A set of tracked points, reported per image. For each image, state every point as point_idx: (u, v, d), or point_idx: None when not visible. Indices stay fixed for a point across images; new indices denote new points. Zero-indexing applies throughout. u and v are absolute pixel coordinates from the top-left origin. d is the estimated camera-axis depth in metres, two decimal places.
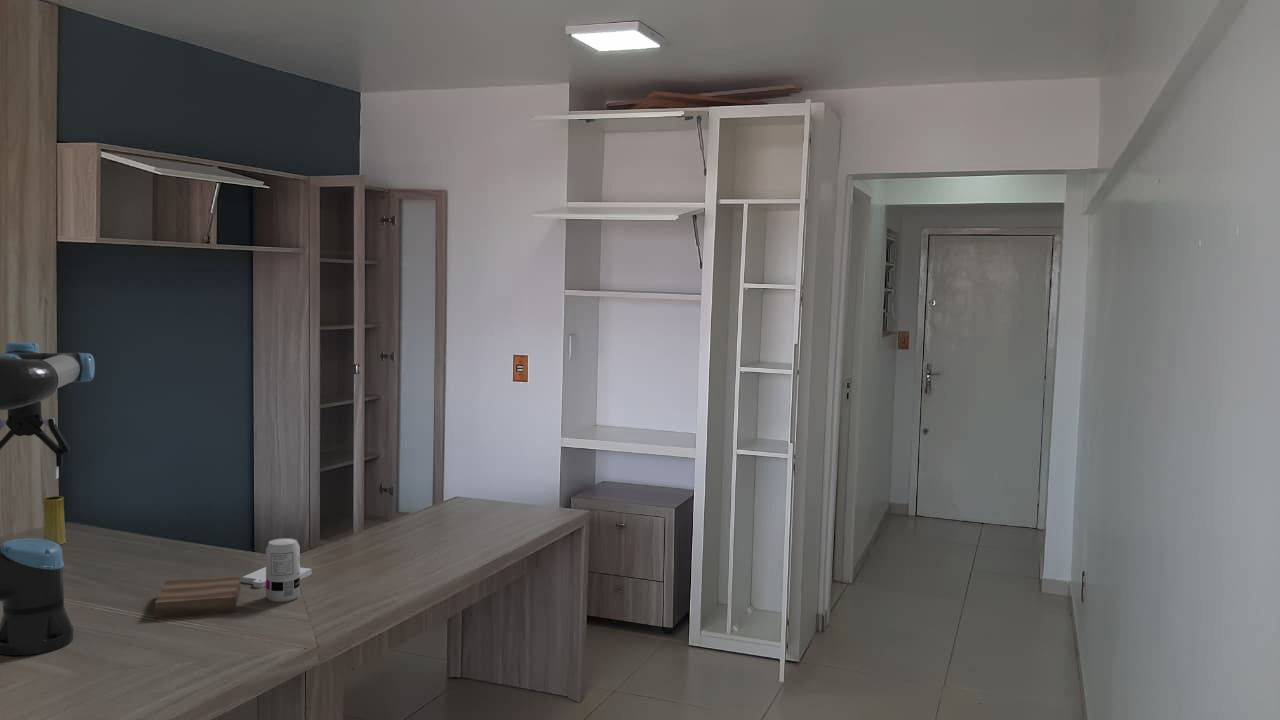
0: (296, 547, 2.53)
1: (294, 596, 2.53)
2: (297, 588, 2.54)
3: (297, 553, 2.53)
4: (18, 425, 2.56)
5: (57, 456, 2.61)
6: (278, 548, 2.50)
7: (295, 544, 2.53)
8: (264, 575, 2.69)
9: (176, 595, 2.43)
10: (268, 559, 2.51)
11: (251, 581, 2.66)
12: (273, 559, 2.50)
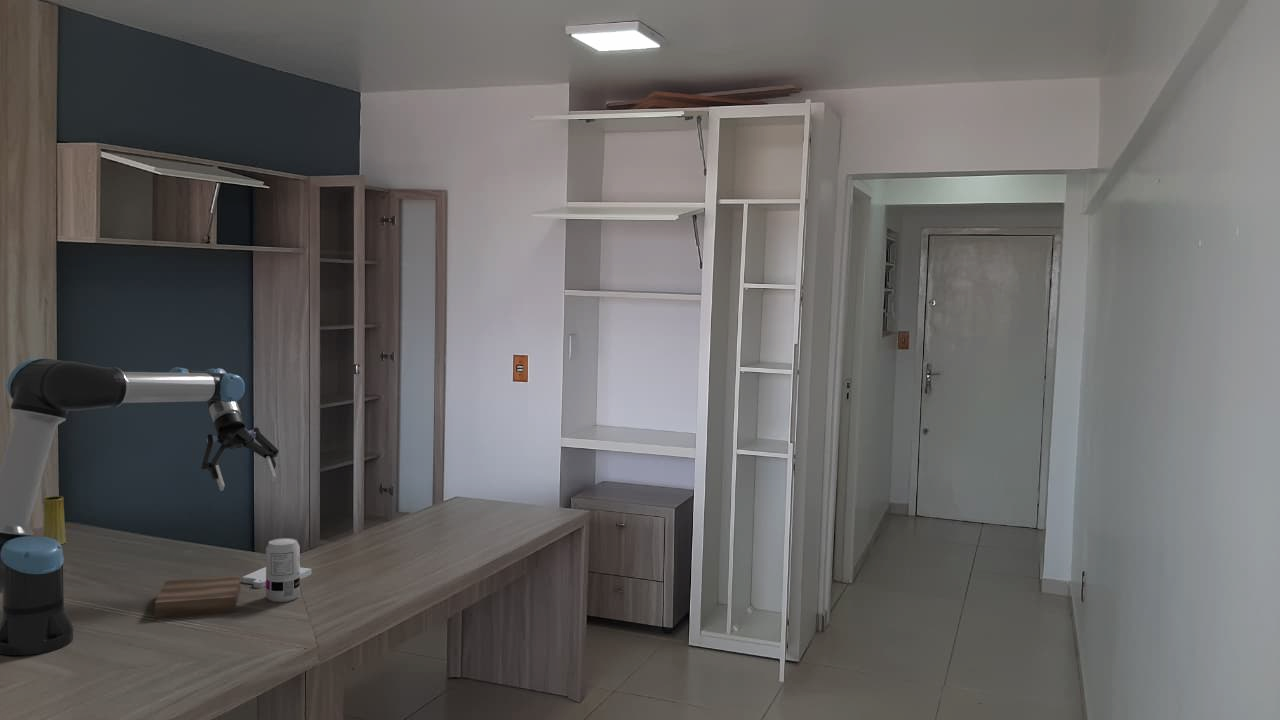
0: (296, 547, 2.53)
1: (294, 596, 2.53)
2: (297, 588, 2.54)
3: (297, 553, 2.53)
4: (230, 434, 2.68)
5: (270, 458, 2.71)
6: (278, 548, 2.50)
7: (295, 544, 2.53)
8: (264, 575, 2.68)
9: (176, 595, 2.43)
10: (268, 559, 2.51)
11: (251, 581, 2.66)
12: (273, 559, 2.50)
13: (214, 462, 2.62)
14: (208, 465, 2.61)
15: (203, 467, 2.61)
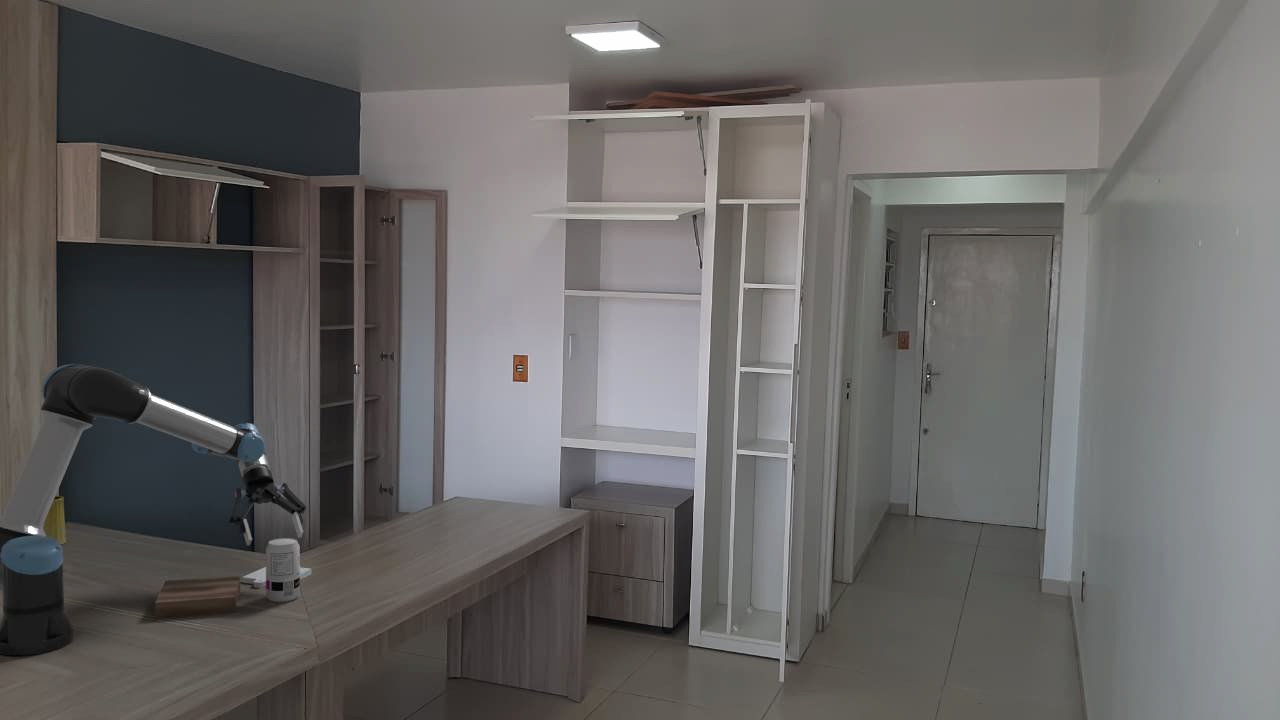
0: (296, 547, 2.53)
1: (294, 596, 2.53)
2: (297, 588, 2.54)
3: (297, 553, 2.53)
4: (259, 488, 2.65)
5: (297, 514, 2.67)
6: (278, 548, 2.50)
7: (295, 544, 2.53)
8: (264, 575, 2.68)
9: (176, 595, 2.43)
10: (268, 559, 2.51)
11: (251, 581, 2.66)
12: (273, 559, 2.50)
13: (242, 516, 2.58)
14: (236, 519, 2.58)
15: (231, 521, 2.58)
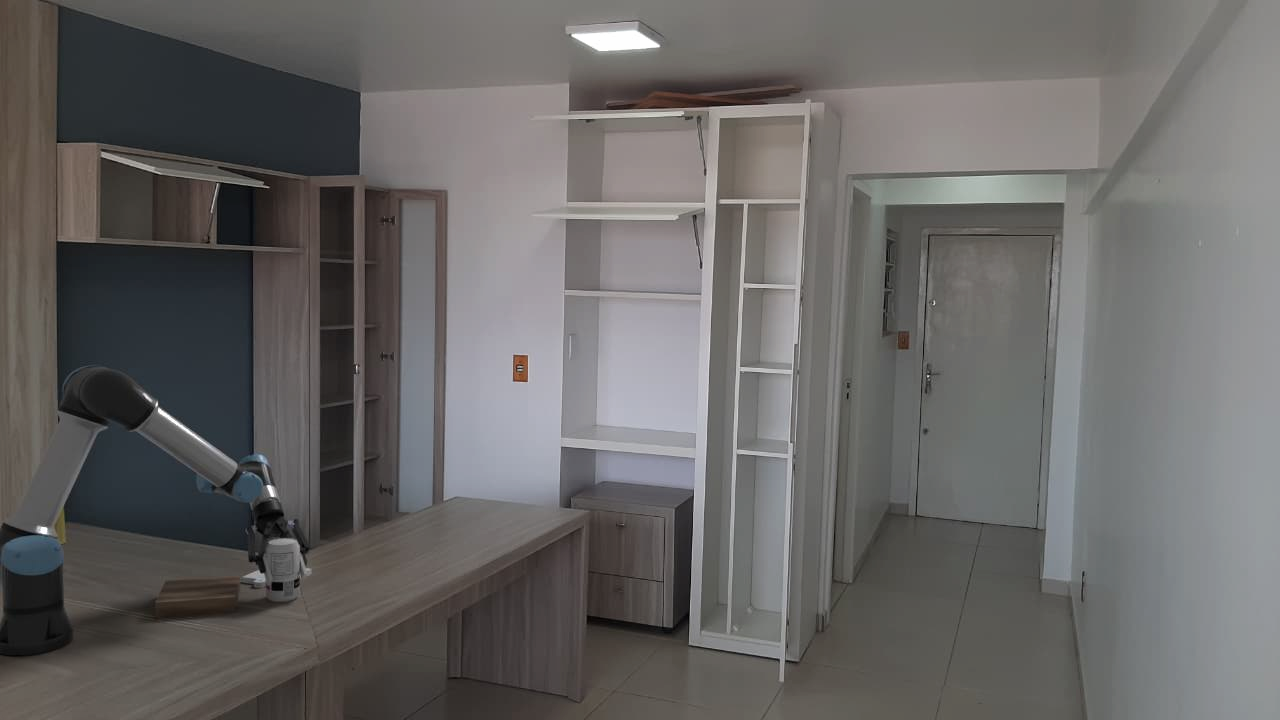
0: (296, 547, 2.53)
1: (294, 596, 2.53)
2: (297, 588, 2.54)
3: (297, 553, 2.53)
4: (269, 522, 2.58)
5: (301, 555, 2.58)
6: (278, 548, 2.50)
7: (295, 544, 2.53)
8: (264, 575, 2.68)
9: (176, 595, 2.43)
10: (268, 559, 2.51)
11: (251, 581, 2.66)
12: (273, 559, 2.50)
13: (262, 554, 2.52)
14: (256, 559, 2.51)
15: (251, 560, 2.51)
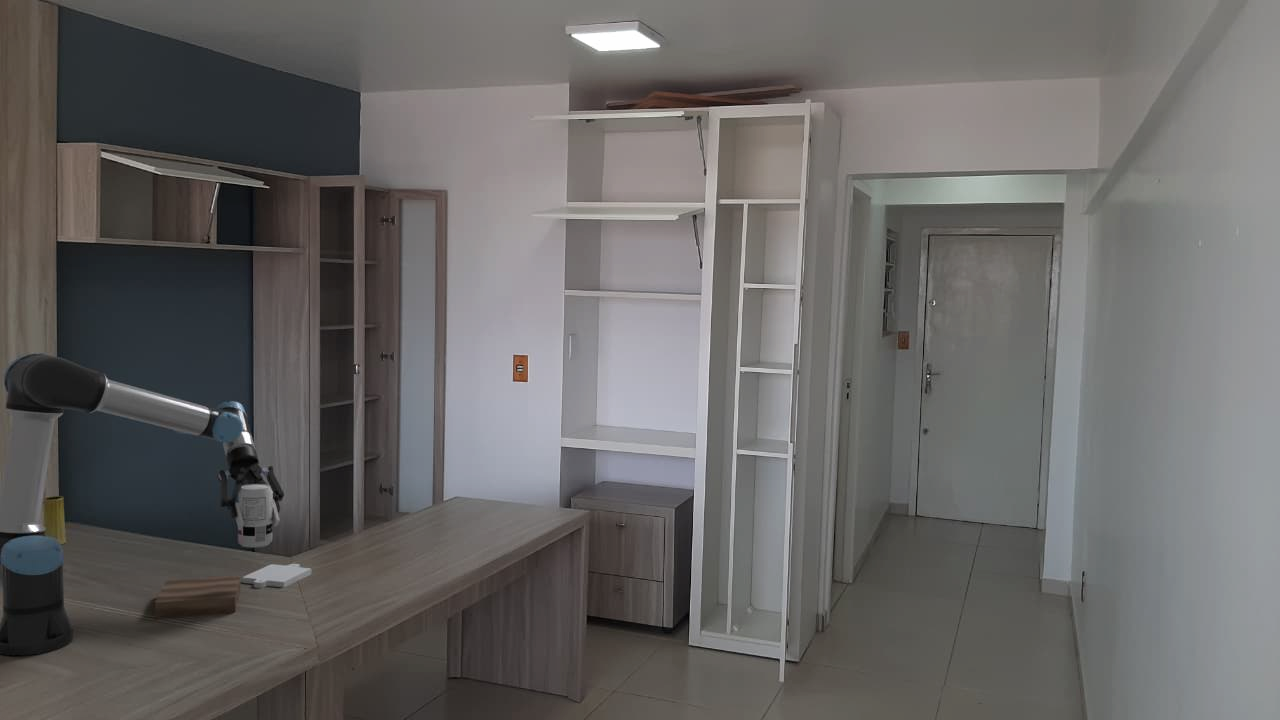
0: (269, 492, 2.50)
1: (266, 542, 2.50)
2: (269, 534, 2.51)
3: (270, 498, 2.51)
4: (243, 468, 2.55)
5: (274, 501, 2.55)
6: (250, 492, 2.47)
7: (268, 489, 2.50)
8: (264, 575, 2.68)
9: (176, 595, 2.43)
10: (240, 504, 2.48)
11: (251, 581, 2.66)
12: (245, 503, 2.47)
13: (234, 499, 2.49)
14: (228, 503, 2.48)
15: (223, 504, 2.48)
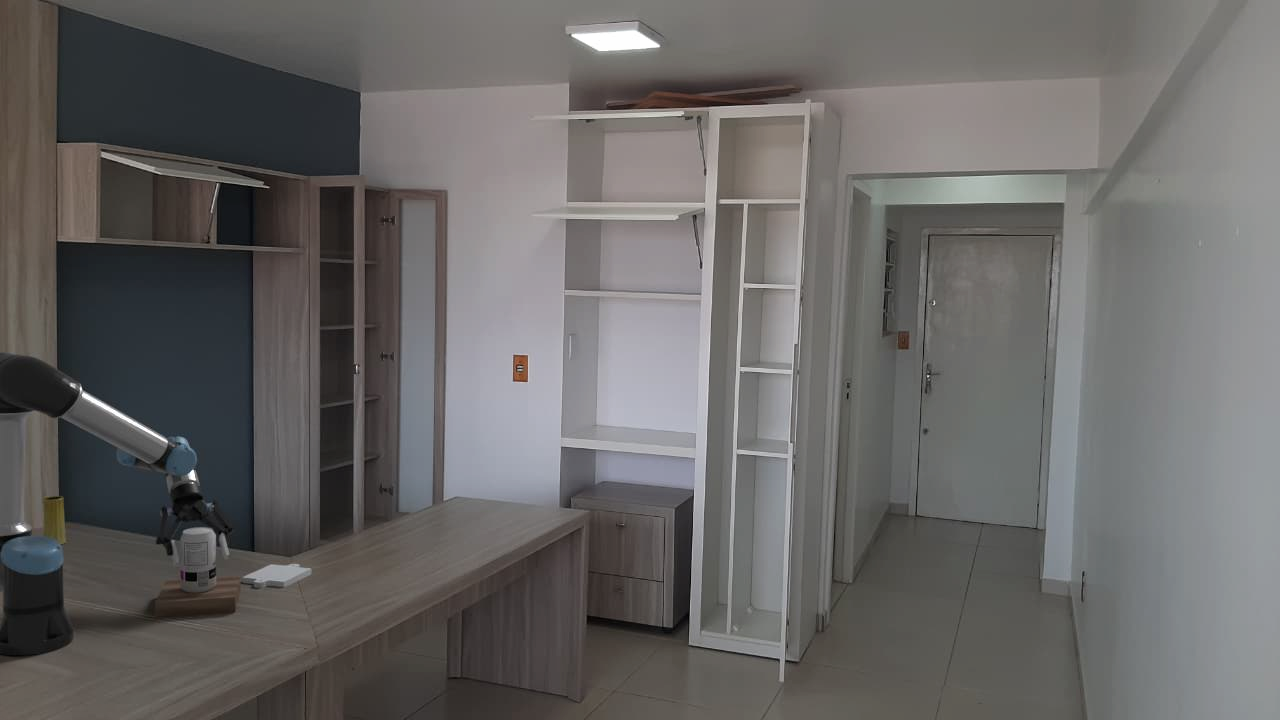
0: (211, 536, 2.46)
1: (209, 587, 2.46)
2: (213, 578, 2.47)
3: (212, 543, 2.46)
4: (186, 506, 2.51)
5: (224, 535, 2.52)
6: (191, 537, 2.43)
7: (210, 533, 2.46)
8: (264, 575, 2.68)
9: (176, 595, 2.43)
10: (182, 549, 2.44)
11: (251, 581, 2.66)
12: (187, 548, 2.43)
13: (170, 537, 2.44)
14: (163, 540, 2.44)
15: (158, 542, 2.44)
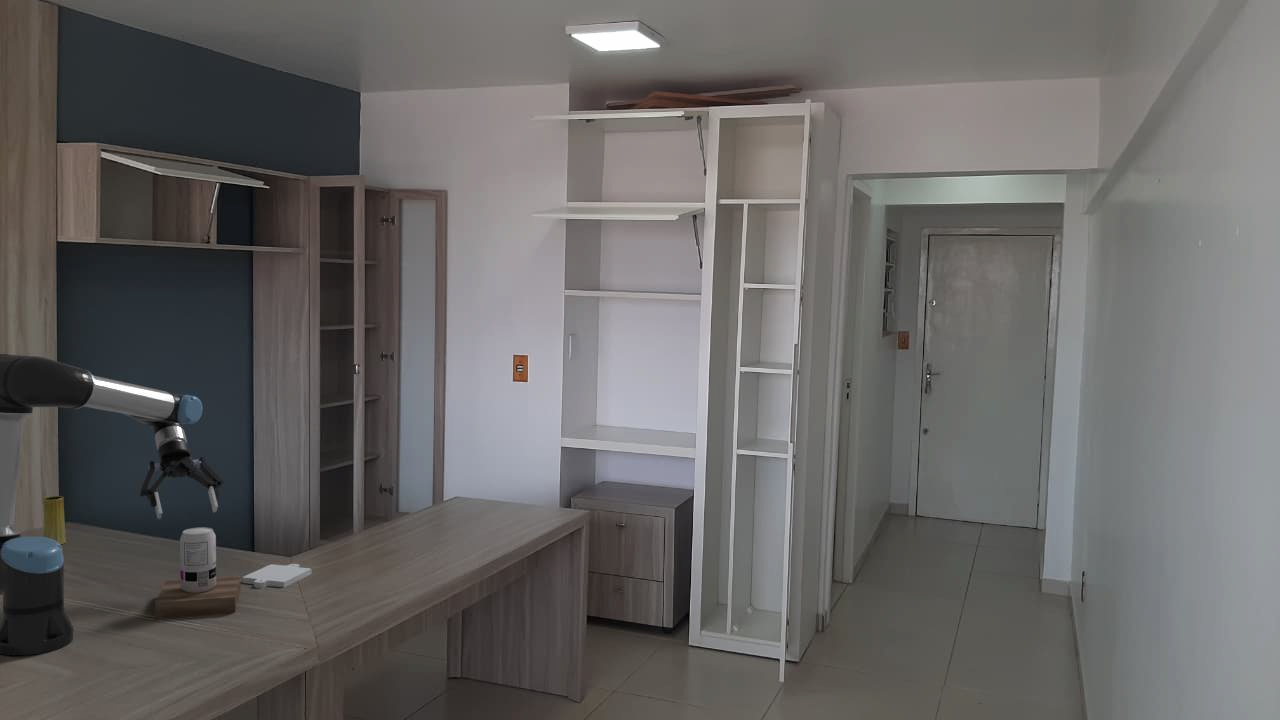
0: (211, 536, 2.46)
1: (209, 587, 2.46)
2: (212, 579, 2.47)
3: (212, 543, 2.46)
4: (174, 462, 2.60)
5: (213, 488, 2.62)
6: (191, 537, 2.43)
7: (210, 533, 2.46)
8: (264, 575, 2.68)
9: (176, 595, 2.43)
10: (182, 549, 2.44)
11: (251, 581, 2.66)
12: (186, 548, 2.43)
13: (154, 489, 2.53)
14: (147, 492, 2.52)
15: (142, 494, 2.52)
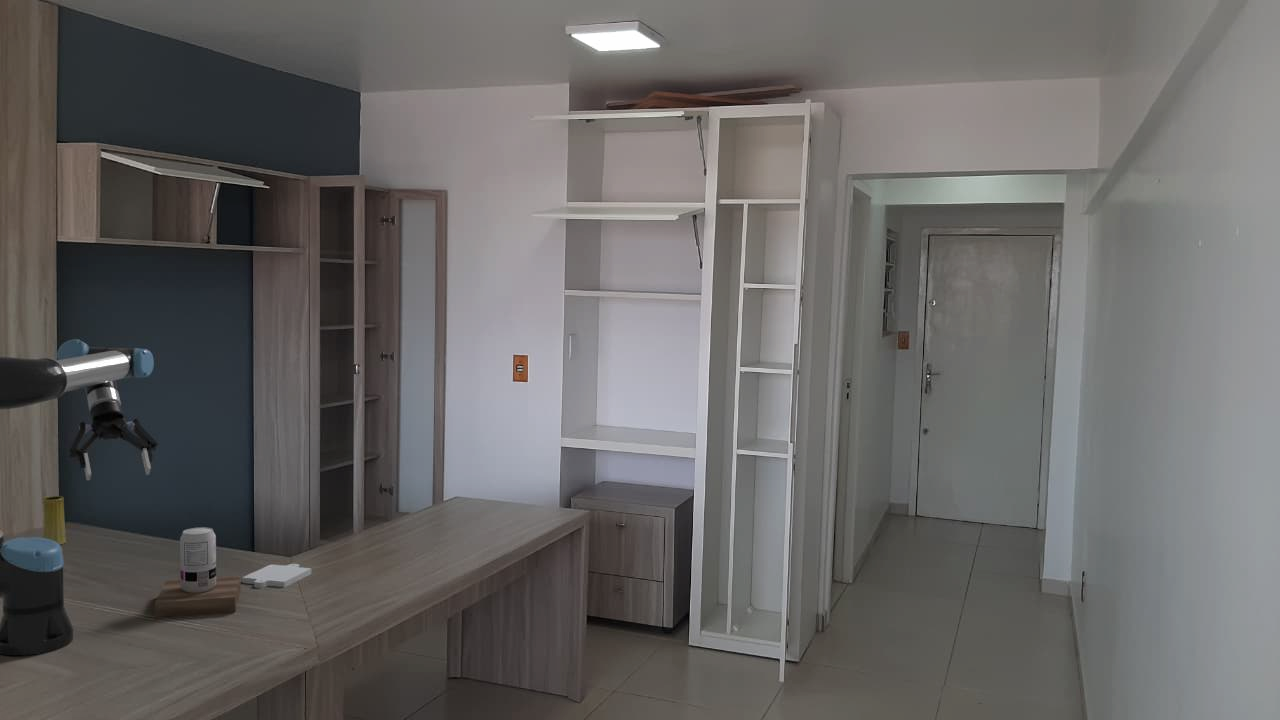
0: (211, 536, 2.46)
1: (209, 587, 2.46)
2: (212, 579, 2.47)
3: (212, 543, 2.46)
4: (106, 423, 2.53)
5: (147, 450, 2.55)
6: (191, 537, 2.43)
7: (210, 533, 2.46)
8: (264, 575, 2.68)
9: (176, 595, 2.43)
10: (182, 549, 2.44)
11: (251, 581, 2.66)
12: (186, 548, 2.43)
13: (83, 450, 2.46)
14: (76, 453, 2.45)
15: (70, 455, 2.45)
